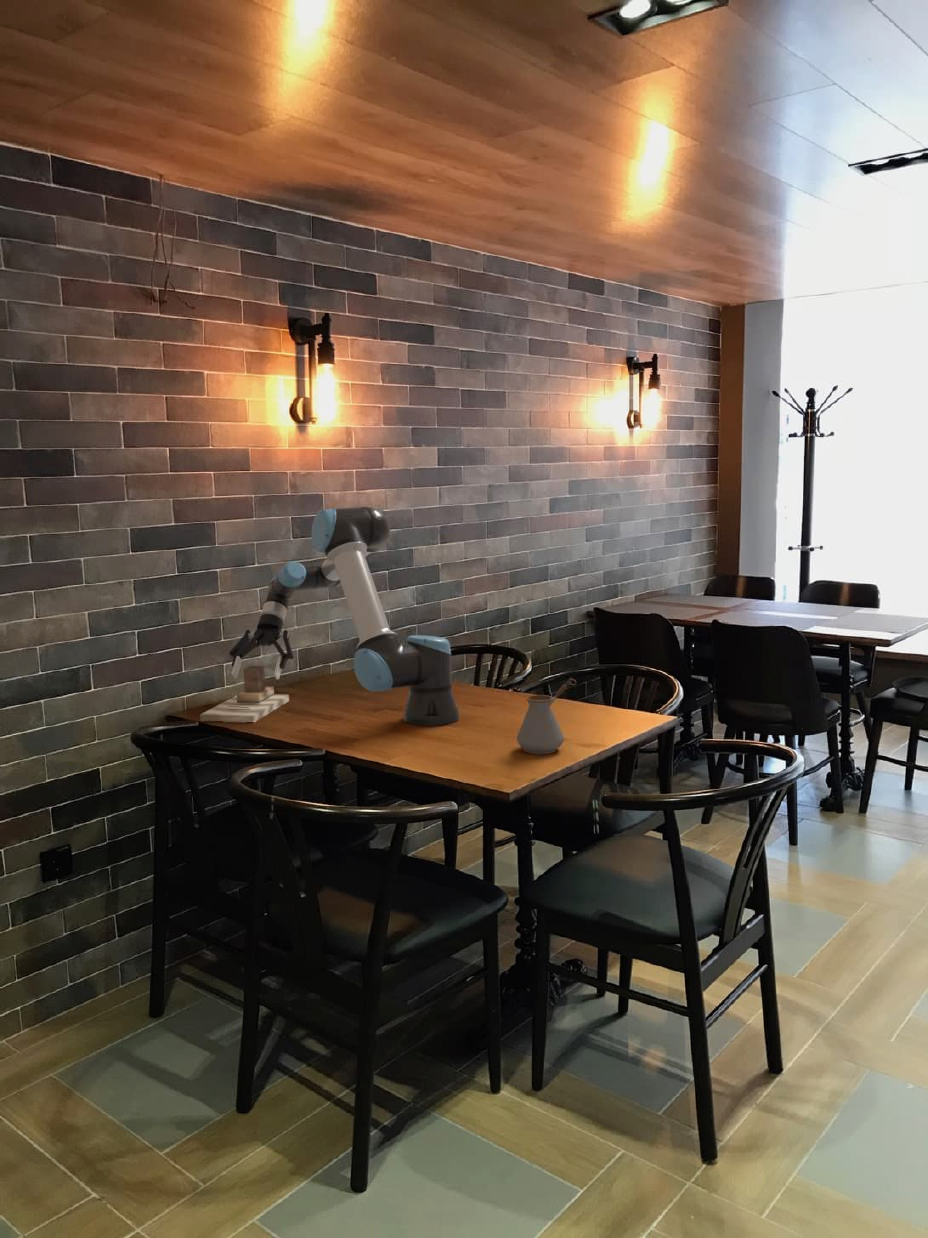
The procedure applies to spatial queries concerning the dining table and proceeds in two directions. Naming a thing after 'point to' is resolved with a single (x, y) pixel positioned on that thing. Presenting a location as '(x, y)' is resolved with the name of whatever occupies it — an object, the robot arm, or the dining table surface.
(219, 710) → the birch board
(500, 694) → the dining table surface
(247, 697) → the sanding block
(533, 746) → the coffee pot
